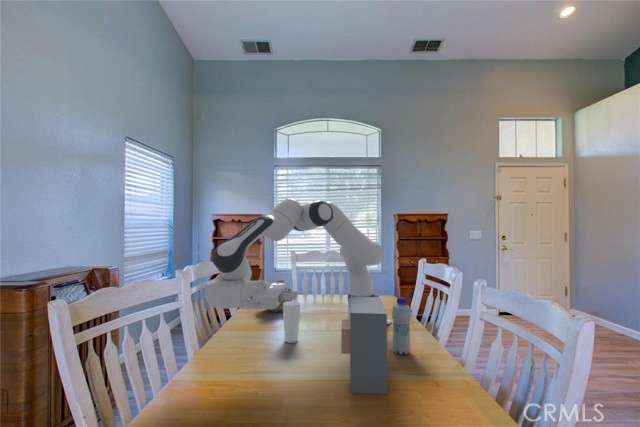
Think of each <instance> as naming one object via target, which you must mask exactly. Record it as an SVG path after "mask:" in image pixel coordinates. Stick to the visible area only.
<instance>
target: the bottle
mask: <svg viewBox="0 0 640 427" xmlns="http://www.w3.org/2000/svg"><path fill="white" fill-rule="evenodd" d="M410 307H411V306H409V305H408V304H407V299H406V298H405V297H403V296H400V297H397V298H396V304H394V305H393V306H392V312H391V316H392V320H393V321H392V334H393V335H392V350H393V351H394V353H395V354H398V353H399V355H400V356H401V355H403V354H404V355H405V354H406V355H408V354H409V353H410V351H411V338H410V337H411V336H410V335H411V334H410V333H411V330H410V329H411V328H410V327H411V325H410V324H411V317H412V316H411V314H412V313H411V308H410Z"/></svg>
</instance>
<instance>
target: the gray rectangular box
mask: <svg viewBox="0 0 640 427" xmlns="http://www.w3.org/2000/svg"><path fill="white" fill-rule="evenodd" d="M381 299H382V298H381V297H380V296H379V297H358V296H350V326H351V339H350V354H349V374H350V375H349V380H350V382H349V384H350V385H349V386H350V388H349V389H350V392H349V393H353V394H354V393H355V394H368V395H369V394H370V395H371V394H373V395H374V394H375V395H388V325H387V318H388V313H387V311H386V308H385V307H384V304H383V302H382V300H381Z"/></svg>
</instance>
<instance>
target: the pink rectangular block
mask: <svg viewBox="0 0 640 427" xmlns="http://www.w3.org/2000/svg"><path fill="white" fill-rule="evenodd" d="M350 339H351V326H350V320H346V319H342V320H341V346H340V347H341V350H340V351H341V353H340V354H345V355H350Z"/></svg>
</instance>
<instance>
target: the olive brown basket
mask: <svg viewBox="0 0 640 427" xmlns="http://www.w3.org/2000/svg"><path fill="white" fill-rule="evenodd" d="M276 282H279V283H285V280H284V279H282V278H281V279H278V278H277V281H276ZM288 290H289V291H293V289H291V288H288ZM288 301H293V299H290V300H285V301H281V303H280V304H279V305H278V306H277V308H276V309H265V310H266V311H268V312H269V313H270V312H271V313H281V312H283V303H284V302H288Z"/></svg>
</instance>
